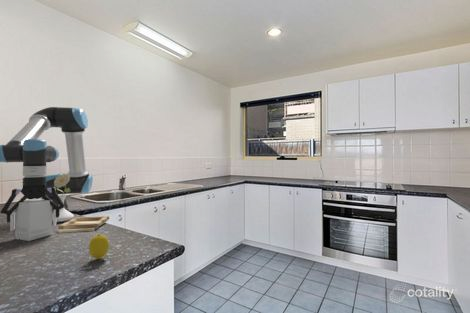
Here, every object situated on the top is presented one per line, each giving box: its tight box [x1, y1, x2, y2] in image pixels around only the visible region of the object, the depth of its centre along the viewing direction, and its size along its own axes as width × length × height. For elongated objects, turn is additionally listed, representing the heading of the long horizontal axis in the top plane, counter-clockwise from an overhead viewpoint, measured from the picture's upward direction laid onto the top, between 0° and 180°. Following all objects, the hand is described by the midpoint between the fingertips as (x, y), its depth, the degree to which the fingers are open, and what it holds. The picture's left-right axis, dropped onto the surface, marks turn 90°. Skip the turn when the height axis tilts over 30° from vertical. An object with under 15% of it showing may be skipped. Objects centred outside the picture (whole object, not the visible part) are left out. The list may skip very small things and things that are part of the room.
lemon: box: [88, 233, 110, 260], centre depth 76 cm, size 6×6×8 cm
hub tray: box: [57, 215, 110, 234], centre depth 115 cm, size 20×16×2 cm
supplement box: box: [14, 198, 53, 242], centre depth 99 cm, size 9×9×15 cm
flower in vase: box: [52, 172, 75, 223], centre depth 124 cm, size 13×11×25 cm
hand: (34, 227), depth 99 cm, fingers open, 13 cm apart
